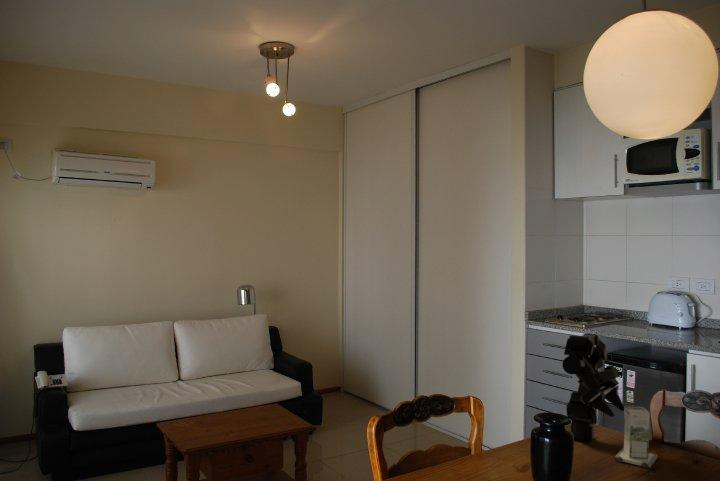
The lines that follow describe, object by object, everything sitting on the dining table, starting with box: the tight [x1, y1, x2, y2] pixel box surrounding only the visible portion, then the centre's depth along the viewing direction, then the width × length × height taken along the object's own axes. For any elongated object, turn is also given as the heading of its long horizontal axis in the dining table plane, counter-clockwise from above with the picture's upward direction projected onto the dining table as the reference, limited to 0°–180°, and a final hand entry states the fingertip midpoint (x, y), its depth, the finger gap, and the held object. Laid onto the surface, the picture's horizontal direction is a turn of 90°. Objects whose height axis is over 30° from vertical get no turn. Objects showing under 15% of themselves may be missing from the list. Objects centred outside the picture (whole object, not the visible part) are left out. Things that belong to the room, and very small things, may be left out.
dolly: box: [614, 447, 658, 469], centre depth 181 cm, size 10×11×2 cm
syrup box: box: [623, 406, 651, 459], centre depth 182 cm, size 6×6×14 cm
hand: (618, 413), depth 185 cm, fingers open, 9 cm apart
